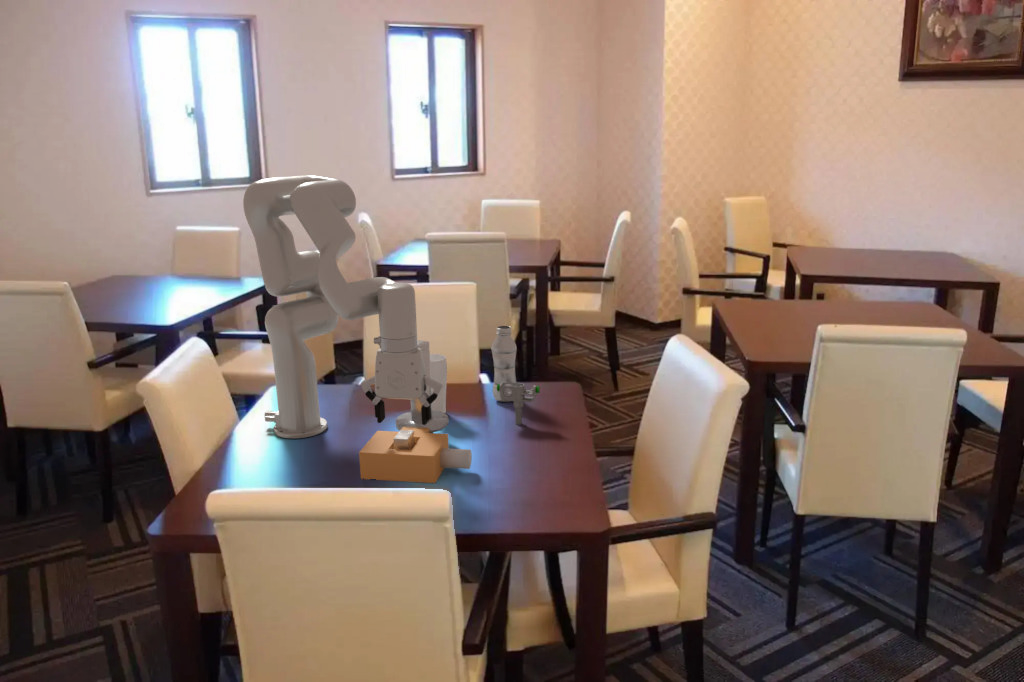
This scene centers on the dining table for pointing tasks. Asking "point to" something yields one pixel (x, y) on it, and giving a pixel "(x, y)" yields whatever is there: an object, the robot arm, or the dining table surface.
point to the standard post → (415, 416)
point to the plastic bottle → (503, 359)
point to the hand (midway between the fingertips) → (403, 421)
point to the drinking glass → (439, 380)
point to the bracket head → (410, 457)
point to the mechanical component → (517, 396)
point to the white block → (404, 440)
